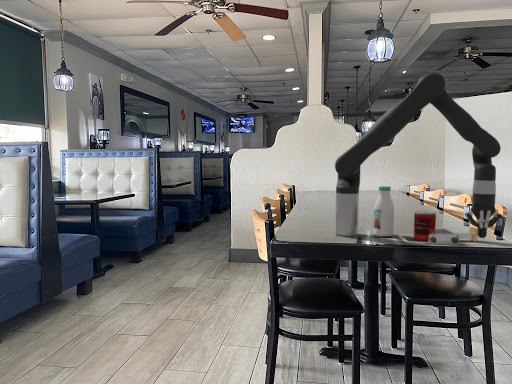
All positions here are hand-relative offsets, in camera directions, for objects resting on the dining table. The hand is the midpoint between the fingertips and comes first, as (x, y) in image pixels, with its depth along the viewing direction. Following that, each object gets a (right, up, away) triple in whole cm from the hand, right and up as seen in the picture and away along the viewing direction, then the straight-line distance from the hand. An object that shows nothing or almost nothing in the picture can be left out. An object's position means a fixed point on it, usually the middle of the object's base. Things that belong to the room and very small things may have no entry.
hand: (481, 237), depth 148 cm
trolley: (-12, -1, +2) cm, 13 cm away
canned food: (-21, -1, +3) cm, 21 cm away
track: (-15, -1, +2) cm, 15 cm away
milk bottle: (-33, -1, +12) cm, 36 cm away
